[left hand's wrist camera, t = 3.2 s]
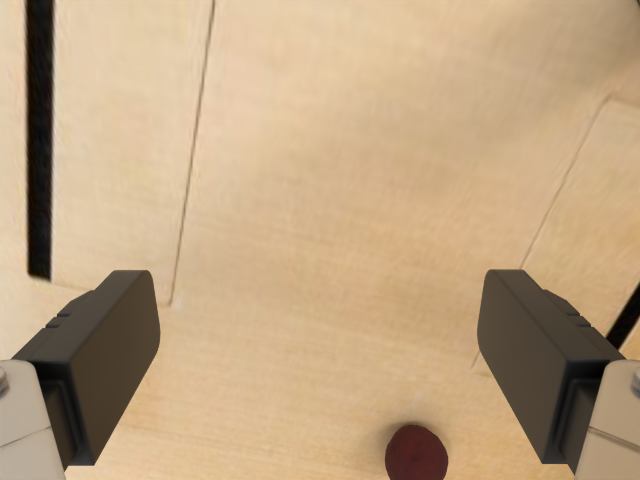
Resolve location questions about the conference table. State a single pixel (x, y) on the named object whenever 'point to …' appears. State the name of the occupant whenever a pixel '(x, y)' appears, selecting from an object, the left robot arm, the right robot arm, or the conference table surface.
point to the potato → (416, 455)
